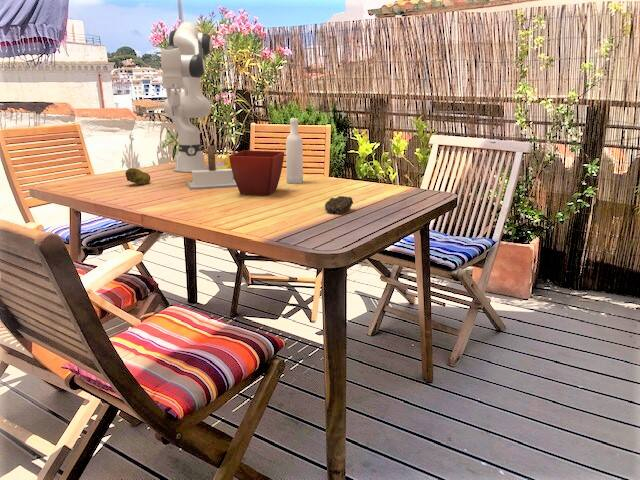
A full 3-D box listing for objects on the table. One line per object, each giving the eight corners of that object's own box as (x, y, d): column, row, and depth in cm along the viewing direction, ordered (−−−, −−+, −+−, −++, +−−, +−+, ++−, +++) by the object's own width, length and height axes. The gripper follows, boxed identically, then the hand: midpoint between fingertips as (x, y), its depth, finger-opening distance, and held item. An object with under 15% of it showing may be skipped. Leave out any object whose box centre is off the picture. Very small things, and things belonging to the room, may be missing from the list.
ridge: (187, 184, 247) (186, 169, 245) (233, 181, 254) (233, 167, 252) (190, 189, 234) (189, 174, 232) (239, 186, 241) (239, 171, 239)
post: (208, 170, 243) (206, 146, 240) (215, 169, 244) (213, 145, 241) (209, 171, 240) (207, 146, 237) (216, 170, 241) (215, 146, 238)
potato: (156, 183, 248) (155, 166, 246) (130, 187, 239) (129, 169, 237) (147, 181, 254) (146, 165, 251) (122, 185, 245) (120, 167, 243)
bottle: (302, 184, 248) (302, 118, 240) (285, 184, 248) (284, 118, 240) (303, 181, 256) (302, 117, 247) (287, 181, 256) (286, 117, 248)
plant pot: (273, 197, 218) (272, 156, 213) (229, 195, 221) (227, 155, 217) (285, 189, 236) (285, 151, 231) (245, 187, 239) (243, 150, 235)
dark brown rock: (335, 206, 202) (336, 193, 201) (357, 210, 196) (358, 197, 195) (317, 212, 194) (317, 198, 192) (339, 216, 188) (339, 202, 186)
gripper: (182, 84, 226) (185, 117, 230) (178, 84, 244) (180, 115, 248) (167, 84, 224) (170, 117, 228) (164, 84, 242) (166, 115, 246)
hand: (175, 116), depth 238 cm, fingers open, 8 cm apart
